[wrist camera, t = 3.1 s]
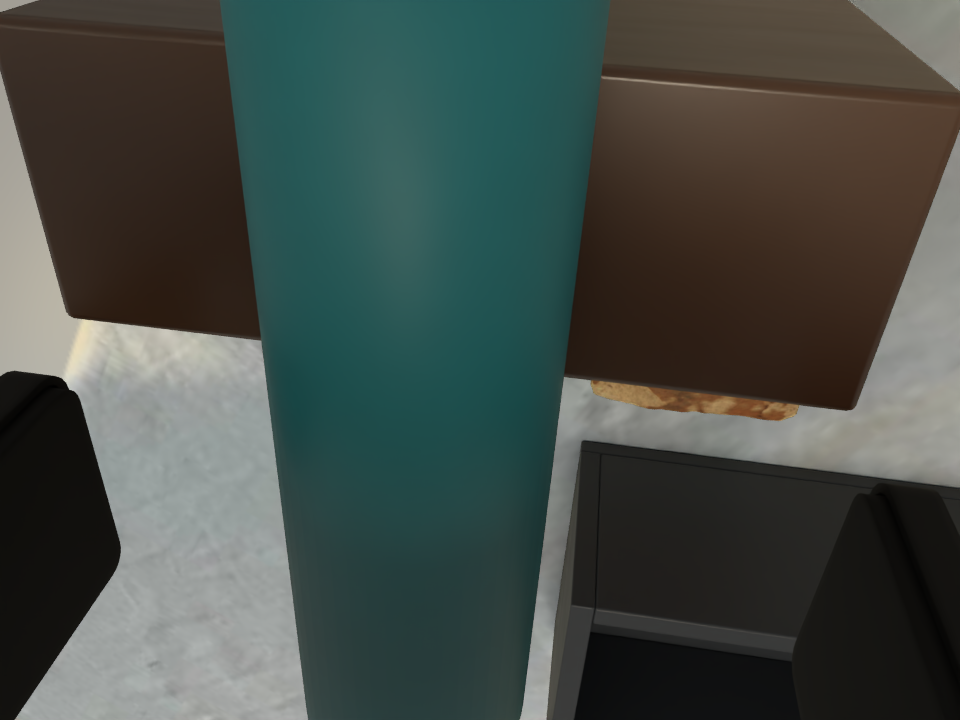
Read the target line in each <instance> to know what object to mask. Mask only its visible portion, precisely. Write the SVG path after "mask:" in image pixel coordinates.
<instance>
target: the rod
mask: <svg viewBox="0 0 960 720" xmlns="http://www.w3.org/2000/svg"><path fill="white" fill-rule="evenodd" d="M610 1H611V0H220V7H221V15H222V23H223V31H224V40H225V48H226V56H227V64H228V72H229V80H230V89H231V97H232V105H233V113H234V121H235V129H236V137H237V146H238V154H239V162H240V170H241V178H242V186H243V195H244V203H245V211H246V219H247V227H248V235H249V244H250V252H251V260H252V268H253V276H254V284H255V293H256V301H257V309H258V317H259V325H260V333H261V341H262V350H263V358H264V366H265V374H266V382H267V390H268V399H269V407H270V415H271V423H272V431H273V439H274V448H275V456H276V464H277V472H278V480H279V488H280V496H281V505H282V513H283V521H284V529H285V537H286V545H287V554H288V562H289V570H290V578H291V586H292V594H293V603H294V611H295V619H296V627H297V635H298V643H299V652H300V660H301V668H302V676H303V684H304V692H305V700H306V708H307V714H308V720H519V719H520V716H521V712H522V706H523V700H524V692H525V684H526V676H527V668H528V660H529V652H530V644H531V636H532V628H533V620H534V612H535V604H536V596H537V588H538V580H539V572H540V564H541V556H542V548H543V539H544V531H545V523H546V515H547V507H548V499H549V491H550V483H551V475H552V467H553V459H554V451H555V443H556V435H557V427H558V419H559V411H560V403H561V395H562V387H563V379H564V371H565V362H566V354H567V346H568V338H569V330H570V322H571V314H572V306H573V298H574V290H575V282H576V274H577V266H578V258H579V250H580V242H581V234H582V226H583V218H584V210H585V202H586V194H587V186H588V177H589V169H590V161H591V153H592V145H593V137H594V129H595V121H596V113H597V105H598V97H599V89H600V81H601V73H602V65H603V57H604V49H605V41H606V33H607V25H608V17H609V9H610Z"/></svg>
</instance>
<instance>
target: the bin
mask: <svg viewBox="0 0 960 720" xmlns="http://www.w3.org/2000/svg"><path fill="white" fill-rule="evenodd" d="M878 483H889V484H896V485H904V486H912V487H920V488H927V489H933V490H935V491H937V492H938V493H939V494H940V496H941V497H942V499H943V501H944V503H945V505H946V507H947V509H948V511H949V514H950V516H951V518H952V520H953V522H954V524H955V526H956V529H957V531H958V533H959V535H960V489H954V488H946V487H939V486H931V485H923V484H915V483H907V482H899V481H891V480H884V479H876V478H868V477H860V476H852V475H844V474H836V473H829V472H821V471H813V470H805V469H797V468H789V467H781V466H774V465H766V464H758V463H750V462H742V461H734V460H726V459H719V458H711V457H703V456H695V455H687V454H679V453H671V452H664V451H656V450H648V449H640V448H632V447H624V446H616V445H609V444H601V443H593V442H585V441H583V442H582V443H581V450H580V457H579V464H578V470H577V477H576V484H575V491H574V498H573V504H572V511H571V518H570V525H569V532H568V538H567V545H566V552H565V559H564V566H563V572H562V579H561V586H560V593H559V600H558V606H557V613H556V620H555V628H554V639H553V651H552V662H551V674H550V685H549V697H548V709H547V720H801V718H800V712H799V707H798V702H797V697H796V692H795V687H794V682H793V675H792V654H793V648H794V645H795V642H796V639H797V637H798V634H799V632H800V629H801V627H802V625H803V622H804V620H805V617H806V615H807V612H808V610H809V607H810V605H811V602H812V600H813V597H814V595H815V592H816V590H817V587H818V585H819V582H820V580H821V578H822V575H823V573H824V570H825V568H826V565H827V563H828V560H829V558H830V555H831V553H832V550H833V548H834V545H835V543H836V540H837V538H838V536H839V533H840V531H841V528H842V526H843V523H844V521H845V518H846V516H847V513H848V511H849V508H850V506H851V503H852V501H853V499H854V497H855V496H856V495H857V494H859V493H864V494H870V493H871V491H872V489H873V487H875V486H876V485H877V484H878Z"/></svg>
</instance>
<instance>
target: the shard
mask: <svg viewBox="0 0 960 720" xmlns="http://www.w3.org/2000/svg"><path fill="white" fill-rule="evenodd" d="M591 387H592V389H593V393H594V394H596V395H599V396H602V397H605V398H607V399H611V400H616V401H622V402H625V403H630V404H634V405H636V406H640V407H644V408H648V409H654V410H655V409H664V410H672V411H679V412H690V411H697V412H701V413H713V414H724V415H739V416H746V417H751V418H757V419H763V420H775V421H782V420H784V419H787V418H790V417H793V416H794V415H796V414H797V411H798V408H799V405H794V404H786V403H778V402H769V401H761V400H753V399H744V398H736V397H728V396H719V395H711V394H703V393H694V392H686V391H678V390H669V389H661V388H653V387H644V386H636V385H628V384H619V383H611V382H603V381H594V380H591Z"/></svg>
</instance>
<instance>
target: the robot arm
mask: <svg viewBox="0 0 960 720" xmlns="http://www.w3.org/2000/svg"><path fill="white" fill-rule="evenodd" d="M120 553H121V546H120V541H119V537H118V534H117V530H116V526H115V523H114V519H113V516H112V512H111V509H110V505H109V502H108V498H107V494H106V491H105V487H104V484H103V480H102V477H101V473H100V469H99V466H98V462H97V459H96V455H95V452H94V448H93V445H92V441H91V437H90V434H89V430H88V427H87V423H86V420H85V416H84V413H83V409H82V405H81V402H80V399H79V397H78V395H77V394H76V393H75V392H74V391H71V390H69V388H68V386H67V384H66V382H65V381H64V380H63V379H62V378H59V377H56V376H50V375H43V374H35V373H27V372H19V371H11V372H7V373H5V374H3V375H2V376H0V720H15V718H16V717H17V715H18V714H19V712H20V711H21V709H22V708H23V707H24V705H25V704H26V702H27V701H28V699H29V698H30V696H31V695H32V693H33V692H34V690H35V689H36V687H37V686H38V684H39V683H40V681H41V680H42V679H43V677H44V676H45V674H46V673H47V671H48V670H49V668H50V667H51V665H52V664H53V662H54V661H55V659H56V658H57V656H58V655H59V654H60V652H61V651H62V649H63V648H64V646H65V645H66V643H67V642H68V640H69V639H70V637H71V636H72V634H73V633H74V631H75V630H76V628H77V627H78V626H79V624H80V623H81V621H82V620H83V618H84V617H85V615H86V614H87V612H88V611H89V609H90V608H91V606H92V605H93V603H94V602H95V601H96V599H97V598H98V596H99V595H100V593H101V592H102V590H103V589H104V587H105V586H106V584H107V583H108V581H109V580H110V578H111V577H112V576H113V574H114V572H115V570H116V568H117V566H118V563H119V559H120ZM792 675H793V682H794V687H795V692H796V697H797V702H798V707H799V712H800V718H801V720H960V535H959V533H958V531H957V529H956V526H955V524H954V522H953V520H952V518H951V516H950V514H949V511H948V509H947V507H946V505H945V503H944V501H943V499H942V497H941V496H940V494H939V493H938V492H937V491H935V490H933V489H927V488H920V487H912V486H904V485H896V484H889V483H878V484H877V485H876V486H875V487H873V489H872V491H871V493H870V494H864V493H859V494H857V495H856V496H855V497H854V499H853V501H852V503H851V506H850V508H849V511H848V513H847V516H846V518H845V521H844V523H843V526H842V528H841V531H840V533H839V536H838V538H837V540H836V543H835V545H834V548H833V550H832V553H831V555H830V558H829V560H828V563H827V565H826V568H825V570H824V573H823V575H822V578H821V580H820V582H819V585H818V587H817V590H816V592H815V595H814V597H813V600H812V602H811V605H810V607H809V610H808V612H807V615H806V617H805V620H804V622H803V625H802V627H801V629H800V632H799V634H798V637H797V639H796V642H795V645H794V648H793V654H792Z"/></svg>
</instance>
